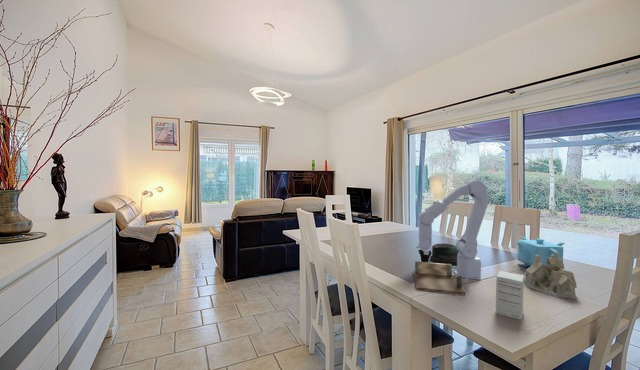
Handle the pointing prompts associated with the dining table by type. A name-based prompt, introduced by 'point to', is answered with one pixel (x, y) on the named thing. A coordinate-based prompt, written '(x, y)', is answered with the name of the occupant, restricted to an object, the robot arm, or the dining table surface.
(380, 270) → the dining table surface
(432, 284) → the board
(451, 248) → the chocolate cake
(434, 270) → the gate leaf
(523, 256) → the teakettle
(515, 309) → the supplement box
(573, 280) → the ceramic cottage
